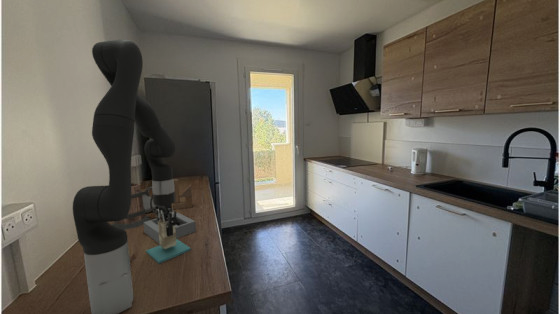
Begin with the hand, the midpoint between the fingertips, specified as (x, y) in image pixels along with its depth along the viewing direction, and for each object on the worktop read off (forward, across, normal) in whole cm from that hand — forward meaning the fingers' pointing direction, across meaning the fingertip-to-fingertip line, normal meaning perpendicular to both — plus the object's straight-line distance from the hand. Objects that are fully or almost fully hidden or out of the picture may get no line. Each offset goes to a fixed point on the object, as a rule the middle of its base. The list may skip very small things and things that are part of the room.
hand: (167, 233), depth 88 cm
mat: (+7, 0, 0) cm, 7 cm away
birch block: (+5, 0, 0) cm, 5 cm away
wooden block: (+8, -45, +28) cm, 54 cm away
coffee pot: (+8, -61, +13) cm, 63 cm away
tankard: (+8, -43, +3) cm, 44 cm away
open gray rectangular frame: (+7, -17, +8) cm, 20 cm away
